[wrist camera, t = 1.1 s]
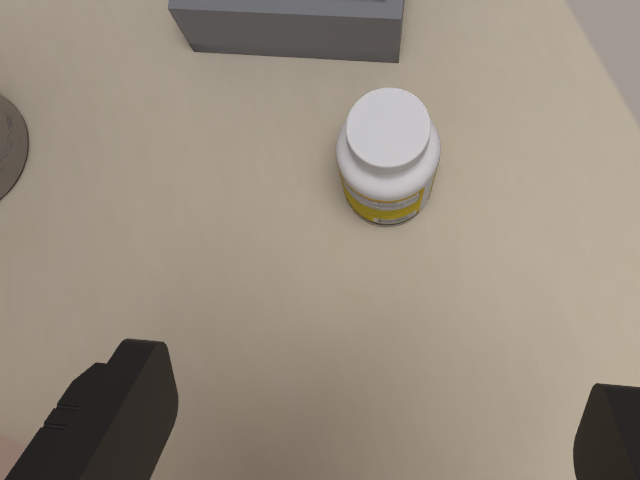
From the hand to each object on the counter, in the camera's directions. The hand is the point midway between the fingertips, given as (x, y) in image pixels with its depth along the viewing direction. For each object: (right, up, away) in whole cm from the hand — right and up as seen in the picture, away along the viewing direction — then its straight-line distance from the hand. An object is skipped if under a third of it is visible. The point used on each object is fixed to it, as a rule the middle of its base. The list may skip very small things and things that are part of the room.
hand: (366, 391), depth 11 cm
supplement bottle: (+3, +6, +25) cm, 26 cm away
